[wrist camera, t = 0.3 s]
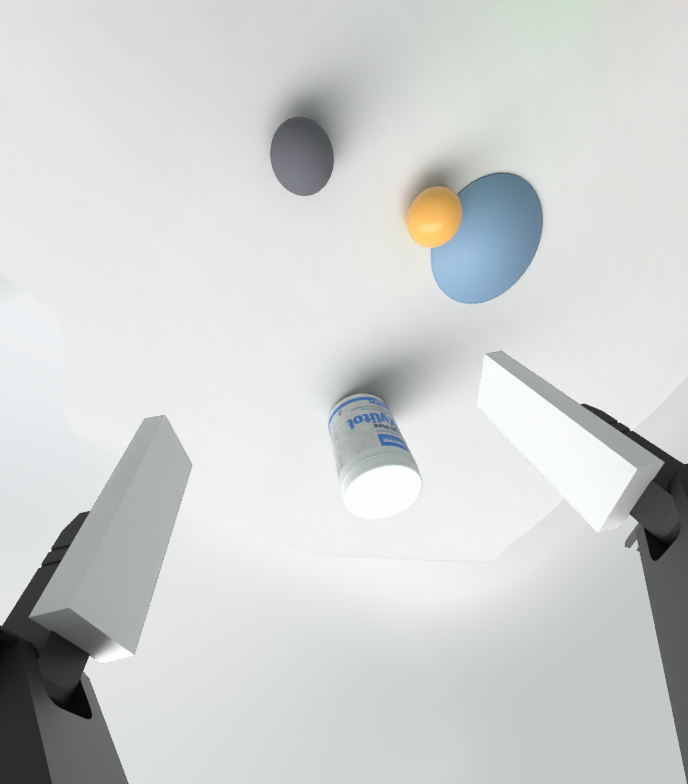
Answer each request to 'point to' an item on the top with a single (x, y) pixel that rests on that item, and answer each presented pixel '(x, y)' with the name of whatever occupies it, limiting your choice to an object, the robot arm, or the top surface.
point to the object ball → (434, 216)
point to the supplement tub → (372, 458)
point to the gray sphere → (301, 156)
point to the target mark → (490, 239)
